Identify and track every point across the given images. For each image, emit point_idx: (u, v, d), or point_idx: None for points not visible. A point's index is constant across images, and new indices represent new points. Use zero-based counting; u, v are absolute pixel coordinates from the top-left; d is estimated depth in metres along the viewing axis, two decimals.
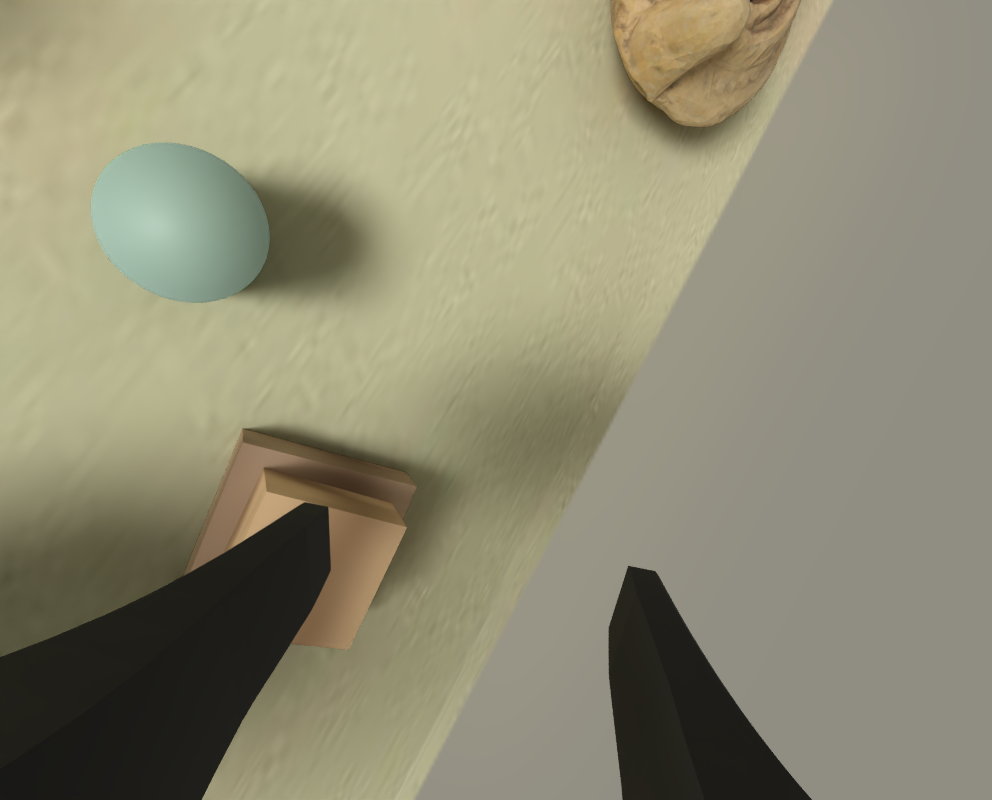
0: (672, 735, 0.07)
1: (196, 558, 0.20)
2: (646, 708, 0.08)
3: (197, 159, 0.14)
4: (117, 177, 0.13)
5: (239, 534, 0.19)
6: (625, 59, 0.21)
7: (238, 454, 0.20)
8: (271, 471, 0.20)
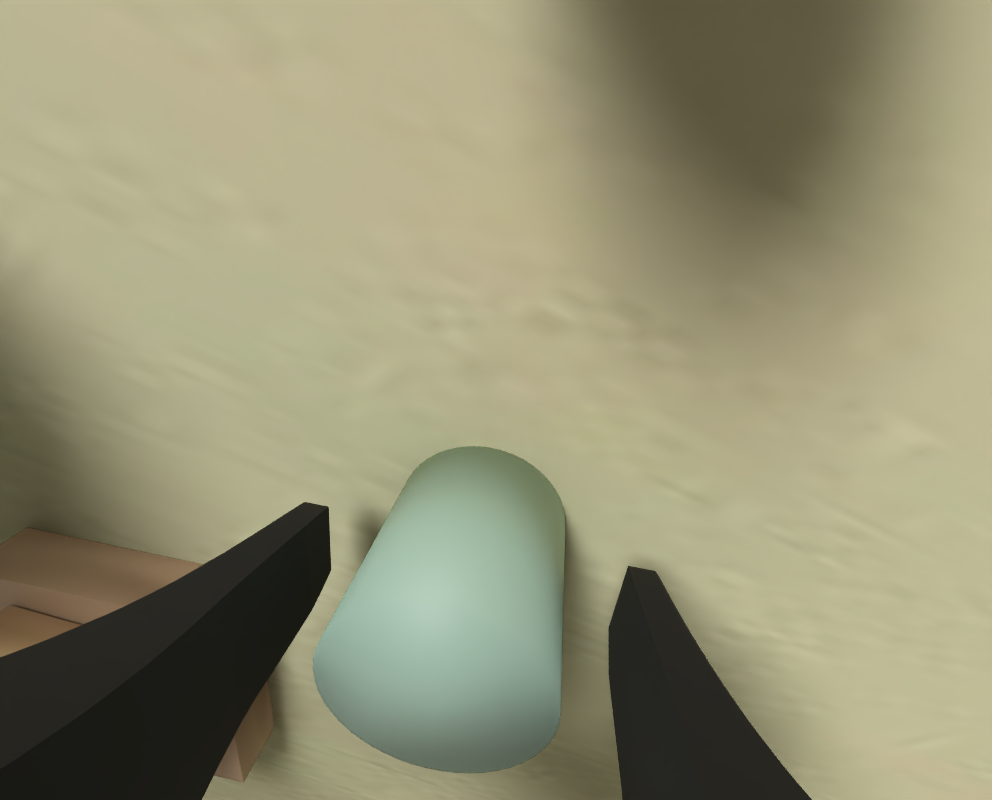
0: (672, 735, 0.07)
1: (46, 588, 0.14)
2: (646, 708, 0.08)
3: (542, 709, 0.08)
4: (467, 629, 0.08)
5: None
6: None
7: None
8: None
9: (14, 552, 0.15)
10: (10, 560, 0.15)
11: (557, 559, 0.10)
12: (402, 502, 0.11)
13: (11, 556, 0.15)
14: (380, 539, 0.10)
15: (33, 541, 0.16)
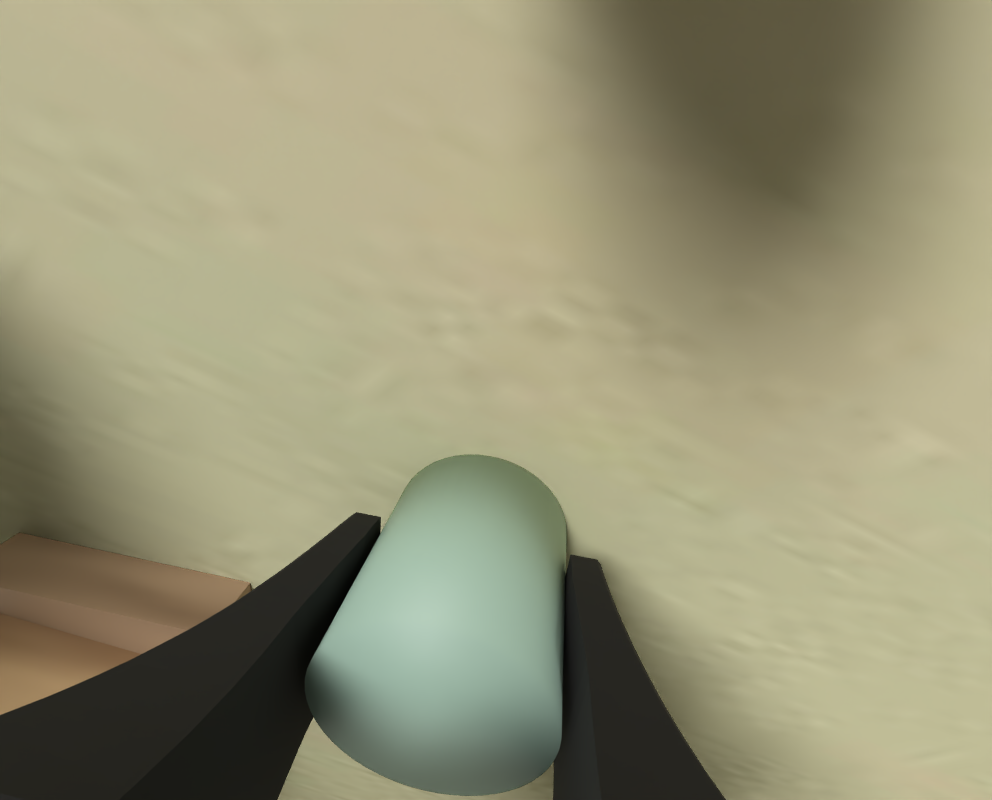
0: (585, 715, 0.07)
1: (38, 596, 0.14)
2: (573, 692, 0.09)
3: (542, 732, 0.08)
4: (465, 650, 0.07)
5: (68, 687, 0.13)
6: None
7: None
8: None
9: (6, 558, 0.15)
10: (2, 566, 0.14)
11: (558, 573, 0.10)
12: (398, 513, 0.11)
13: (3, 562, 0.15)
14: (375, 552, 0.10)
15: (26, 546, 0.15)
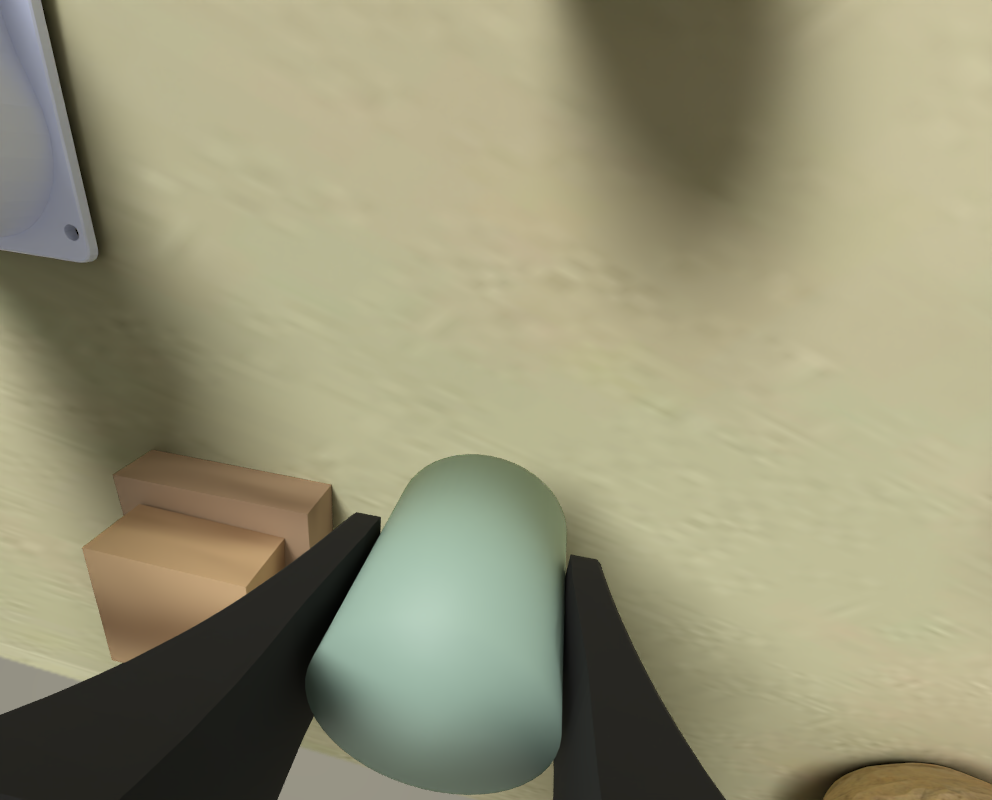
0: (585, 715, 0.07)
1: (179, 488, 0.19)
2: (572, 692, 0.08)
3: (542, 731, 0.08)
4: (465, 649, 0.07)
5: (202, 547, 0.18)
6: None
7: (294, 511, 0.18)
8: (280, 549, 0.19)
9: (148, 465, 0.20)
10: (146, 470, 0.19)
11: (558, 572, 0.10)
12: (399, 512, 0.11)
13: (146, 467, 0.19)
14: (376, 552, 0.10)
15: (159, 458, 0.20)
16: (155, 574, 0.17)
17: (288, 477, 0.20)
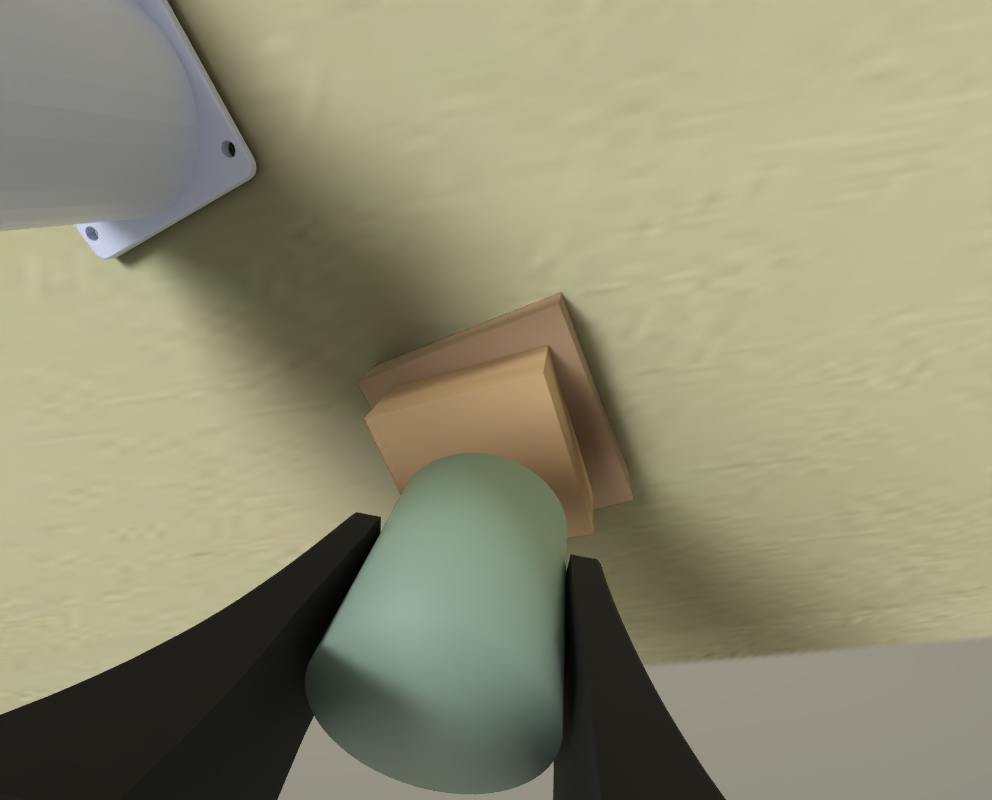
0: (585, 715, 0.07)
1: (421, 358, 0.17)
2: (572, 692, 0.09)
3: (543, 733, 0.08)
4: (470, 650, 0.07)
5: (473, 377, 0.16)
6: None
7: (543, 310, 0.16)
8: (549, 356, 0.16)
9: (380, 368, 0.19)
10: (382, 368, 0.18)
11: (560, 574, 0.10)
12: (402, 509, 0.11)
13: (381, 368, 0.18)
14: (379, 548, 0.10)
15: (387, 362, 0.19)
16: (443, 411, 0.15)
17: (514, 310, 0.18)
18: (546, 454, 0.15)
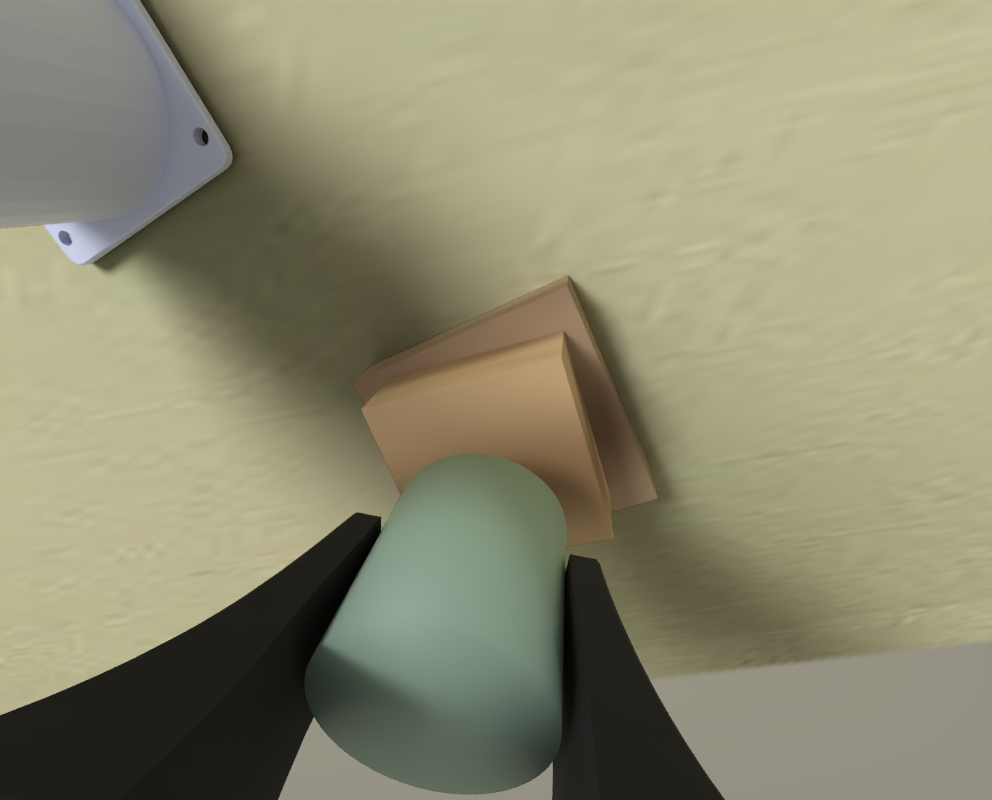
0: (584, 715, 0.07)
1: (419, 353, 0.16)
2: (572, 692, 0.08)
3: (543, 733, 0.08)
4: (470, 650, 0.07)
5: (482, 365, 0.14)
6: None
7: (550, 294, 0.14)
8: (565, 342, 0.15)
9: (377, 367, 0.17)
10: (379, 367, 0.17)
11: (560, 574, 0.10)
12: (401, 509, 0.11)
13: (377, 367, 0.17)
14: (378, 548, 0.10)
15: (384, 361, 0.18)
16: (449, 402, 0.13)
17: None
18: (563, 449, 0.14)
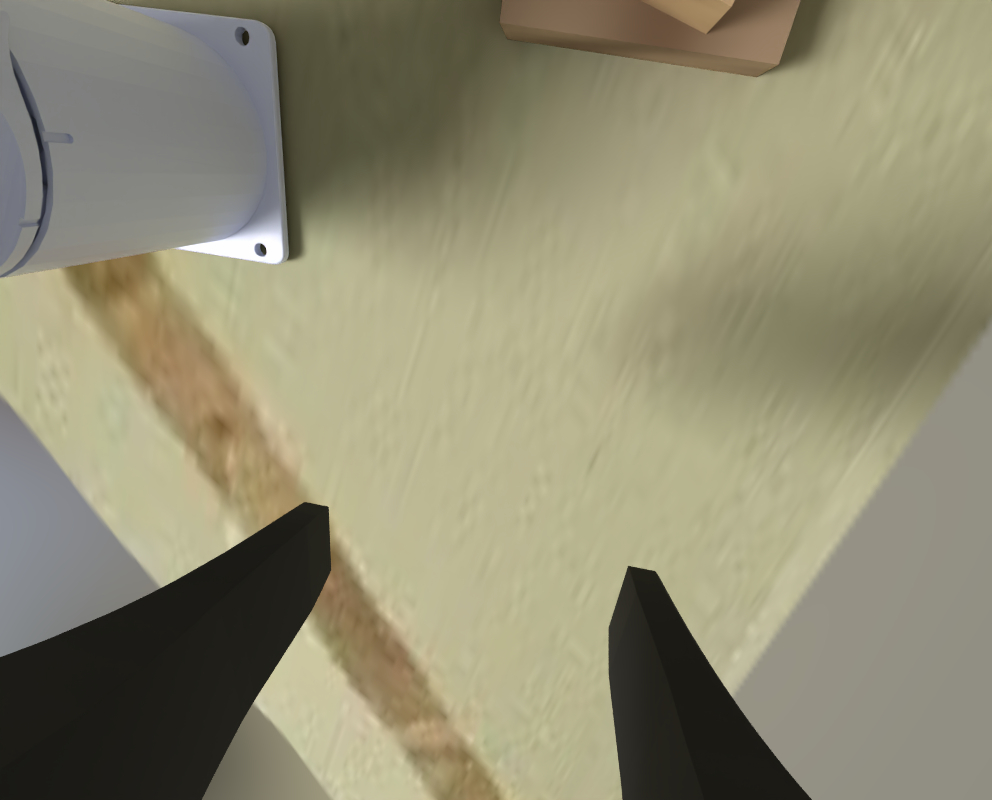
0: (672, 735, 0.07)
1: None
2: (645, 708, 0.08)
3: None
4: None
5: None
6: None
7: None
8: None
9: None
10: None
11: None
12: None
13: None
14: None
15: None
16: None
17: None
18: None
